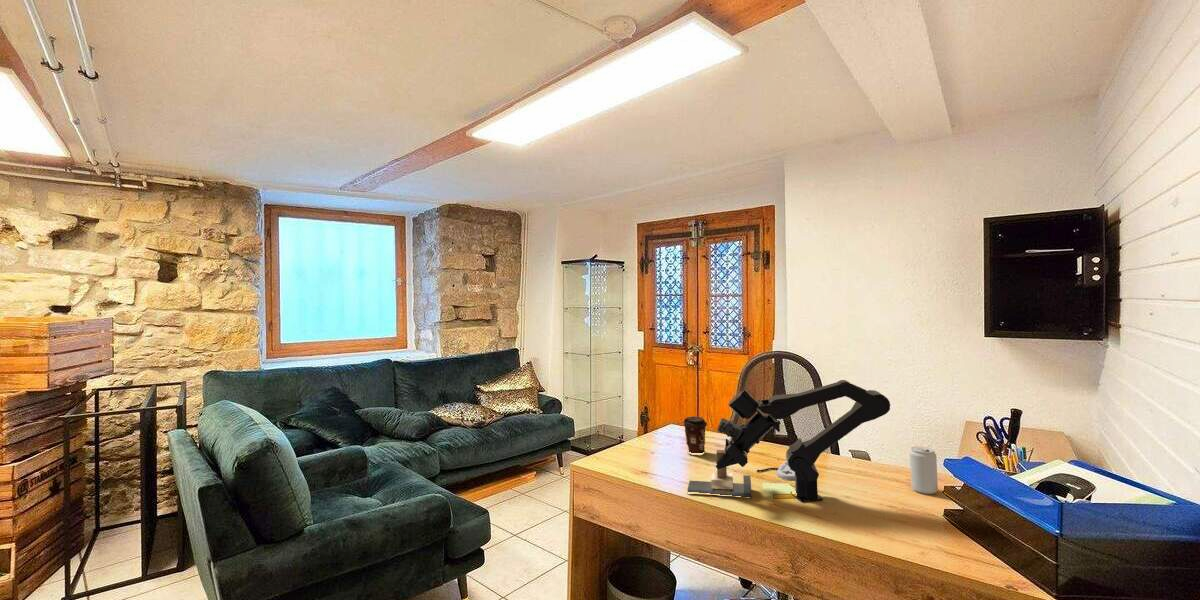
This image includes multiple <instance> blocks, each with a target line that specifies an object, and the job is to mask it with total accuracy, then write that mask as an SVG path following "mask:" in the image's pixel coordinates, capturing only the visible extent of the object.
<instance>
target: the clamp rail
mask: <svg viewBox="0 0 1200 600" xmlns="http://www.w3.org/2000/svg"><path fill="white" fill-rule="evenodd" d="M751 479H752V478H751V475H745V474H744V475H743V483H740V482H739V483H737V482H733V490H731V489H714V488H712V484H711V481H703V480H689V481H688V485H687V493H688V492H699V493H710V494H720V495H732V496H741V497H750V498H749V499H753V498H752V480H751Z"/></svg>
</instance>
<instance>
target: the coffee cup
mask: <svg viewBox="0 0 1200 600" xmlns="http://www.w3.org/2000/svg"><path fill="white" fill-rule="evenodd" d="M683 426H684V432H685V442H686V445H687V448H688V450H689V452H691V453H703V452H705V453H706V450H705V445H706V427H707V426H708V424H707V422H706V420H705V419H704V418H703V417H701V416H694V415H693V416H687V417H685V418H684V421H683Z"/></svg>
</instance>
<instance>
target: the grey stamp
mask: <svg viewBox="0 0 1200 600" xmlns="http://www.w3.org/2000/svg"><path fill="white" fill-rule="evenodd" d="M715 454H716V462H717V463H718V462H719V461H720V459H721V458H722V456H723V455H724V454H725V450H724V449H716V453H715ZM716 471H717V472H711V478H710V479H711V480H710V482H711V484H712V488H714V489H731V490H733V483H734V476H733V473H729V472H728V473H727V467H724V468H721V469H717V468H716Z"/></svg>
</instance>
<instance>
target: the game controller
mask: <svg viewBox="0 0 1200 600" xmlns="http://www.w3.org/2000/svg"><path fill="white" fill-rule="evenodd" d="M769 469H771V470H775V469H776V477H777V476H778V477H779V479H780V478H782V479H781V480H784V479H787V480H786V481H795V472H794V471H792V470H791V469H790V467H789V465H788V462H787V461H784V462H782V463H781V465H780V466H779V467H768V468H763V469H757V470H756V472H757V471H762V472H765V471H764V470H766V471H770V470H769ZM778 477H777V478H778Z"/></svg>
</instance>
